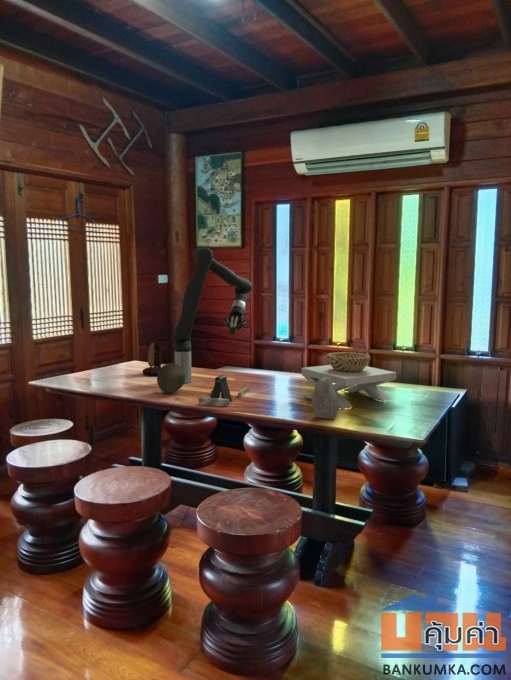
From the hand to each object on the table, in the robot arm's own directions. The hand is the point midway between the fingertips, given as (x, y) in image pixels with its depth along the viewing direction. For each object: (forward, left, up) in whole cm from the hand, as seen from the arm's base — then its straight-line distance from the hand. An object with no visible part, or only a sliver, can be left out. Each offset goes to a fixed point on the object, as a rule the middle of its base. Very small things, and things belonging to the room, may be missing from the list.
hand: (231, 333), depth 282 cm
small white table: (+63, -15, -28) cm, 71 cm away
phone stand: (+6, -36, -28) cm, 46 cm away
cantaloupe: (-23, -28, -28) cm, 46 cm away
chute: (+5, -29, -28) cm, 40 cm away
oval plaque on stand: (-52, +16, -28) cm, 61 cm away
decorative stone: (+57, -48, -28) cm, 80 cm away
